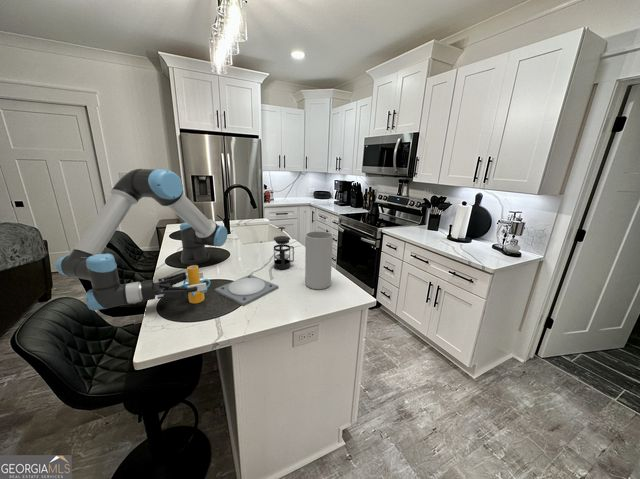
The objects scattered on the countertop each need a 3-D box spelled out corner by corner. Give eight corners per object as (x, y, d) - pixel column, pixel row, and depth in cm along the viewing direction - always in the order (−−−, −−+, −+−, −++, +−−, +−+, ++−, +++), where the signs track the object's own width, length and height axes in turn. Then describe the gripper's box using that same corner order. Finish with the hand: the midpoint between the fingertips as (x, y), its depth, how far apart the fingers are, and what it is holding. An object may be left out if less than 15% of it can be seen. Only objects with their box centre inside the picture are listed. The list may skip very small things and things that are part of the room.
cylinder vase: (328, 291, 118) (330, 239, 110) (302, 288, 120) (302, 237, 112) (332, 279, 129) (334, 232, 122) (308, 277, 131) (308, 230, 124)
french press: (273, 271, 138) (272, 229, 131) (272, 264, 147) (270, 225, 140) (294, 269, 141) (294, 229, 134) (292, 263, 150) (292, 224, 143)
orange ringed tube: (217, 297, 110) (214, 264, 106) (199, 309, 101) (194, 274, 96) (195, 292, 114) (190, 260, 110) (175, 303, 104) (170, 269, 100)
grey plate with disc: (214, 291, 115) (214, 287, 114) (250, 276, 130) (250, 272, 130) (243, 306, 104) (243, 301, 103) (278, 288, 119) (278, 283, 119)
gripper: (146, 287, 107) (202, 277, 118) (140, 316, 87) (209, 301, 98) (143, 270, 105) (200, 262, 115) (136, 296, 85) (207, 283, 96)
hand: (204, 280), depth 107 cm, fingers closed on orange ringed tube, 11 cm apart
